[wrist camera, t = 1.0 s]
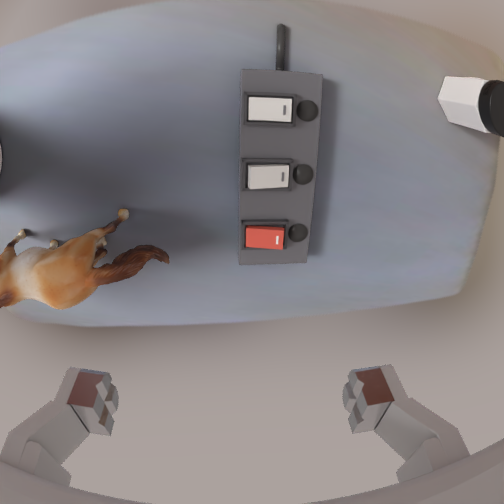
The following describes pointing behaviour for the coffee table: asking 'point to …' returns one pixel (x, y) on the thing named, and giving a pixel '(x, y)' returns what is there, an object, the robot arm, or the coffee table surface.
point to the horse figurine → (68, 268)
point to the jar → (474, 103)
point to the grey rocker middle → (268, 176)
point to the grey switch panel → (279, 159)
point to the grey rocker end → (270, 109)
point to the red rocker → (264, 237)
